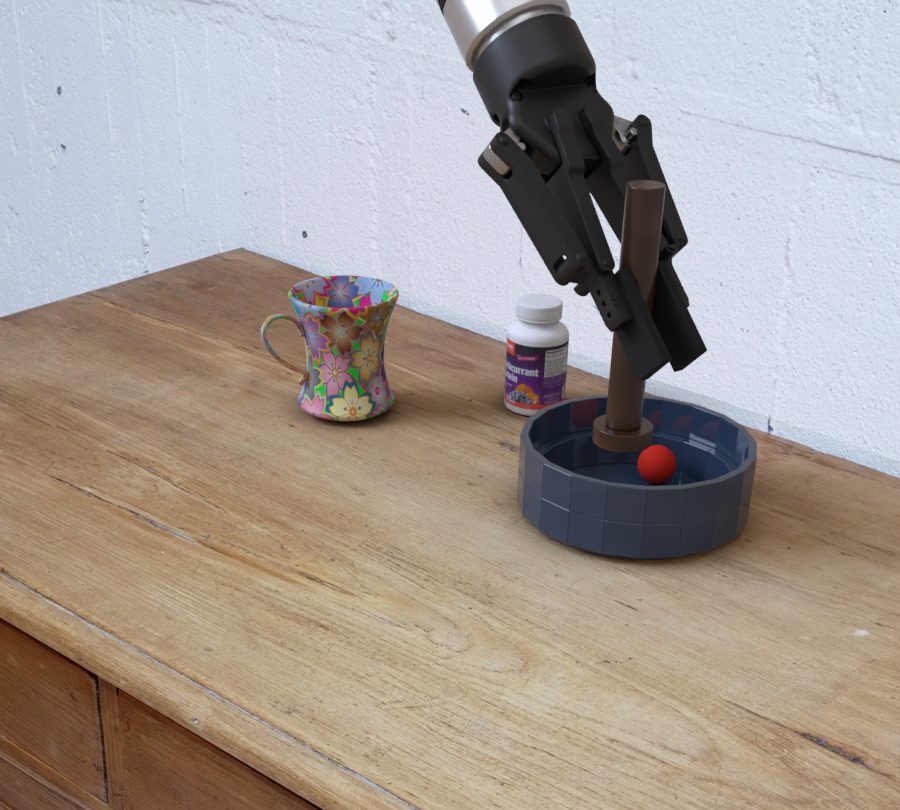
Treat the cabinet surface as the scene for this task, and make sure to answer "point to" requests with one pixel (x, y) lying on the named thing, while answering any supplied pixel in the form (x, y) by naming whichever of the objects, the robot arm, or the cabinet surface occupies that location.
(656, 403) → the bowl
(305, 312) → the mug
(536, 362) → the pill bottle
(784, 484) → the cabinet surface
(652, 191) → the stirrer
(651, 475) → the red ball
